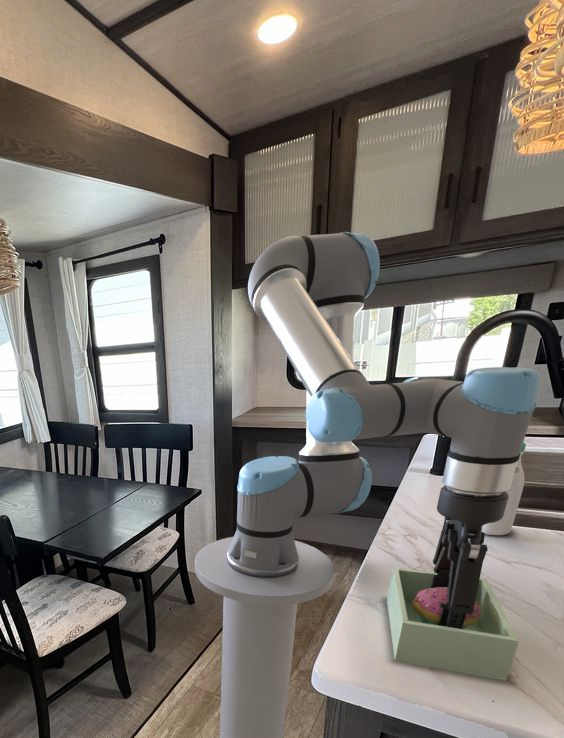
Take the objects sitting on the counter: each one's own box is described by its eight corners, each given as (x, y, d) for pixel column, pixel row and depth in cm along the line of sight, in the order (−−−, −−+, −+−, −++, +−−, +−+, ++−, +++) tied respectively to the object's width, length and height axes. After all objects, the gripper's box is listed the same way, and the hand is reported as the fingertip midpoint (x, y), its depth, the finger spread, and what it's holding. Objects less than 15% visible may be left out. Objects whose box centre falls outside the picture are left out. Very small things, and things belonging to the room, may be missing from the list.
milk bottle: (519, 534, 103) (546, 444, 95) (485, 537, 102) (510, 447, 94) (491, 521, 110) (514, 437, 102) (459, 524, 109) (480, 440, 101)
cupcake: (457, 617, 76) (474, 551, 71) (485, 650, 68) (507, 578, 63) (399, 615, 77) (412, 550, 73) (420, 647, 70) (437, 576, 65)
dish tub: (386, 600, 83) (392, 567, 80) (476, 612, 78) (486, 578, 75) (394, 660, 69) (402, 622, 66) (505, 681, 63) (519, 641, 61)
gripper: (535, 518, 53) (486, 676, 62) (489, 468, 71) (456, 597, 80) (456, 513, 56) (420, 663, 65) (430, 466, 74) (405, 590, 83)
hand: (440, 627), depth 72 cm, fingers closed on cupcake, 8 cm apart
